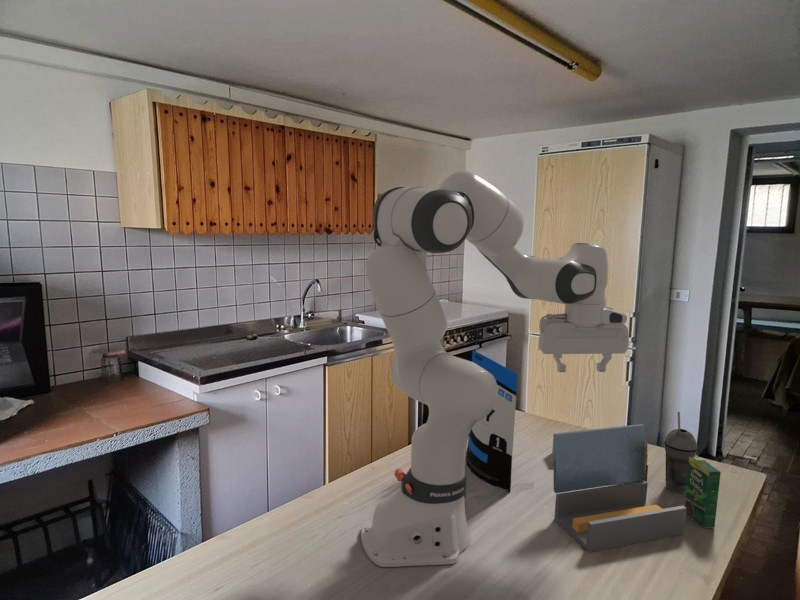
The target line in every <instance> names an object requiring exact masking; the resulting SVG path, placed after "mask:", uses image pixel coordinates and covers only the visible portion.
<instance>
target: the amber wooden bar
mask: <svg viewBox="0 0 800 600" xmlns="http://www.w3.org/2000/svg"><path fill="white" fill-rule="evenodd" d="M649 505H650V506H644V507H638V508H632V509H626V510H620V511H614V512H608V513H602V514H596V515H591V516H585V517H579V518H573V523H572V527H573V528H574V529H575V530H576V531H577V532H584V531H587V528H588V522H590V521H596V520H602V519H607V518H613V517H619V516H625V515H631V514H636V513H642V512H648V511H654V510H660V509H663V507H661V506H659V505H658V504H652V505H651V504H649Z"/></svg>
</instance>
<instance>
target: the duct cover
mask: <svg viewBox="0 0 800 600" xmlns="http://www.w3.org/2000/svg"><path fill="white" fill-rule="evenodd" d="M645 431H646V426H645V424H643V423H639V424H631V425H628V424H627V425H625V426H624V425H620V426H612V427H610V426H609V427H602V428H594V429H584V430H575V431H566V432H565V431H564V432H556V433H553V437H552V448H553V453H552V455H553V492H554V493H555V494H560V493H567V492H573V491H580V490H587V489H593V488H600V487H607V486H613V485H620V484H627V483H633V482H636V481H641V480H645V439H646V432H645Z"/></svg>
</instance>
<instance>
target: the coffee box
mask: <svg viewBox="0 0 800 600" xmlns="http://www.w3.org/2000/svg"><path fill="white" fill-rule="evenodd" d="M720 480H721V471H720V470H718V468H715V467H714V466H713V465H712V464H710V463H708V462H707V461H706V460H705V459H703V458H702V457H700V456H695V457H689V463H688V475H687V486H686V492H685V497H684V507H686V508H687V510H686V513H688V514H689V515H690V516H691V517H692V518H693V519H694V520H695V521H696V522H697V523H698V524H699V525H700V526H701V527H702V528H705V529H714V528H715V526H716V525H715V524H716V520H717V519H716V518H717V511H718V510H717V508H718V498H719V489H720Z"/></svg>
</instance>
